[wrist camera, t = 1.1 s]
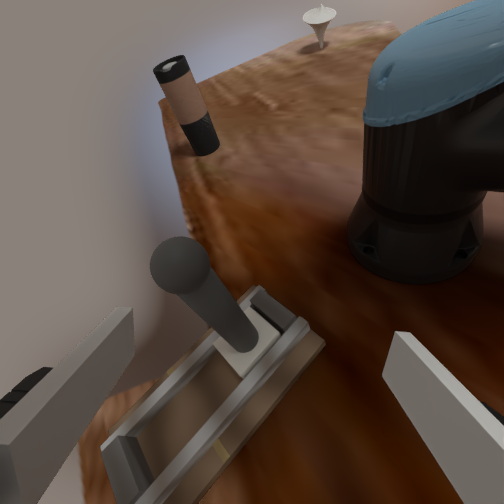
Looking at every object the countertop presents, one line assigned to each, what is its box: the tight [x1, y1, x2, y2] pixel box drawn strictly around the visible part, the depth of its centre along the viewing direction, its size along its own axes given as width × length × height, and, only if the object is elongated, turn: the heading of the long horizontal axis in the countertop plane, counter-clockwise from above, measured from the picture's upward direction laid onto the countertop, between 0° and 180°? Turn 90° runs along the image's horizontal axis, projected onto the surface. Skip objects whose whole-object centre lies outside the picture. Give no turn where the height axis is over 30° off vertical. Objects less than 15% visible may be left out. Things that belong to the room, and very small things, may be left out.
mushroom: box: [303, 4, 336, 49], centre depth 86 cm, size 10×11×12 cm
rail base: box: [100, 285, 326, 504], centre depth 28 cm, size 24×12×4 cm, turn 133°
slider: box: [150, 237, 281, 379], centre depth 23 cm, size 6×5×19 cm
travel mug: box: [153, 55, 220, 156], centre depth 62 cm, size 8×8×20 cm
